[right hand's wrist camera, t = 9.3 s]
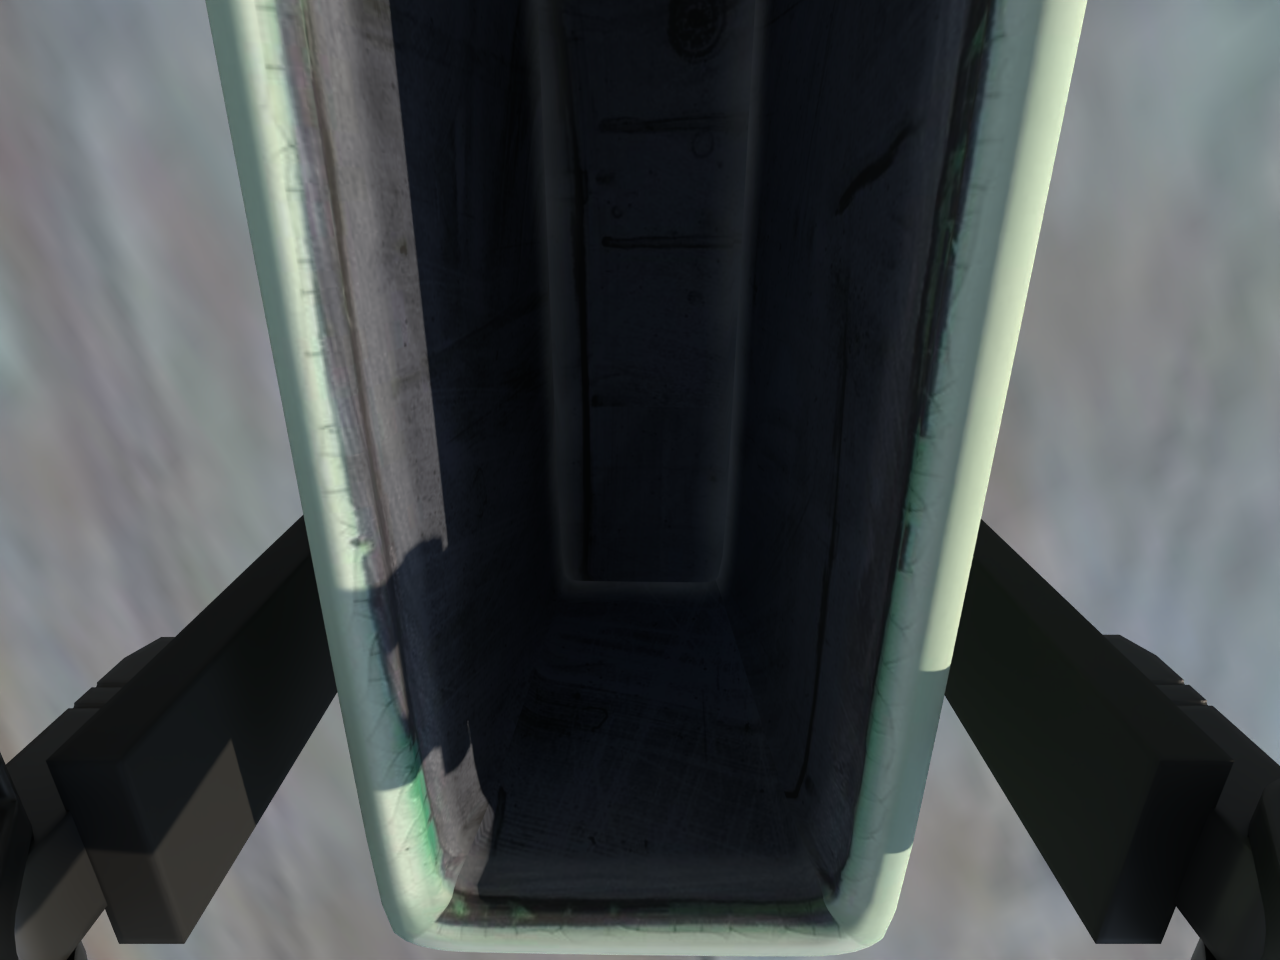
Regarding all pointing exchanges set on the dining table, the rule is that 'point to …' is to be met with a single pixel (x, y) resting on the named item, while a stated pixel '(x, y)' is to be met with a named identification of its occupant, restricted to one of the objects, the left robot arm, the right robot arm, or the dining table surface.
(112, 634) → the dining table surface
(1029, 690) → the right robot arm
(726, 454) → the planter
